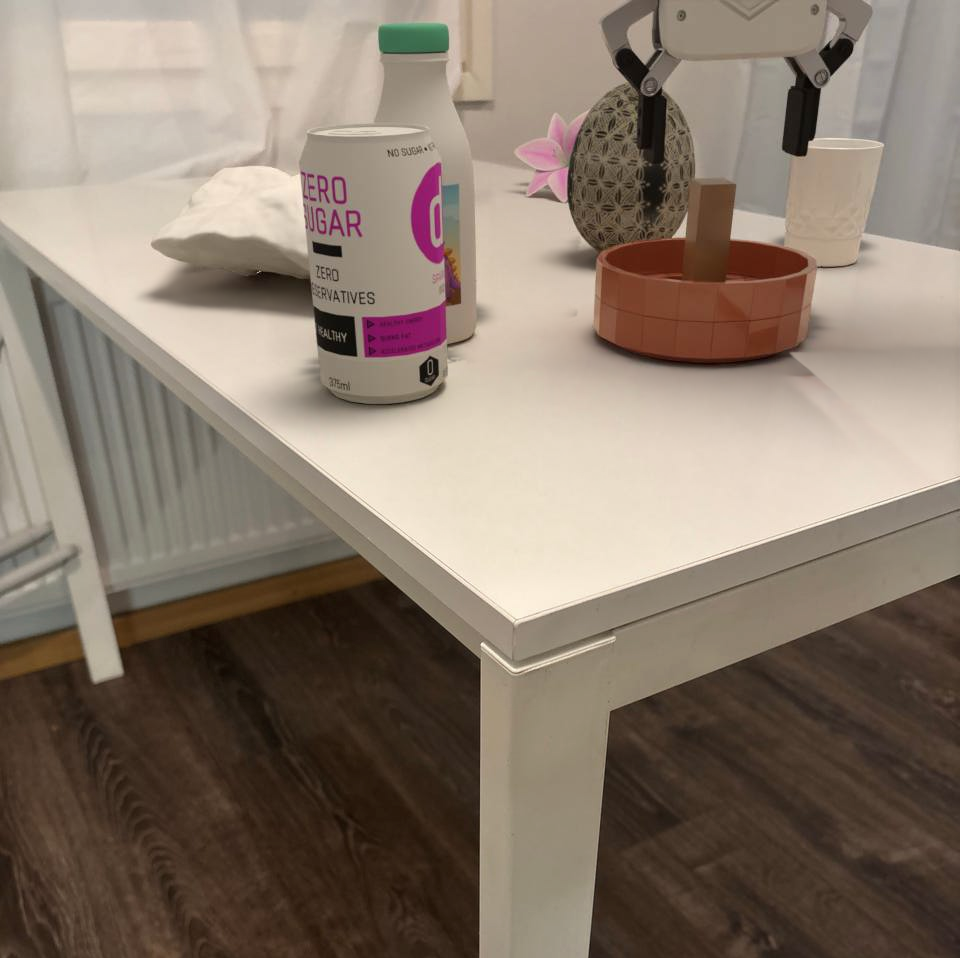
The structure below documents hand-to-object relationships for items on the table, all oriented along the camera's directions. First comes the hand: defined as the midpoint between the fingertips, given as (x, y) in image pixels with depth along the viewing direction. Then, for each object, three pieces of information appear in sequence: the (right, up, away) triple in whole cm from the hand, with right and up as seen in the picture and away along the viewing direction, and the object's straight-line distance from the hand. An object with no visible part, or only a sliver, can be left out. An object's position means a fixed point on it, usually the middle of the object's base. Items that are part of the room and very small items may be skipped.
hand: (723, 157), depth 68 cm
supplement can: (-23, -16, -2) cm, 28 cm away
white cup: (+16, +3, +28) cm, 32 cm away
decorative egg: (-2, +4, +29) cm, 30 cm away
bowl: (0, -10, +6) cm, 12 cm away
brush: (0, -10, +6) cm, 11 cm away
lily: (-6, +24, +61) cm, 66 cm away
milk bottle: (-21, -10, +8) cm, 24 cm away
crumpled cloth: (-34, +1, +25) cm, 43 cm away
